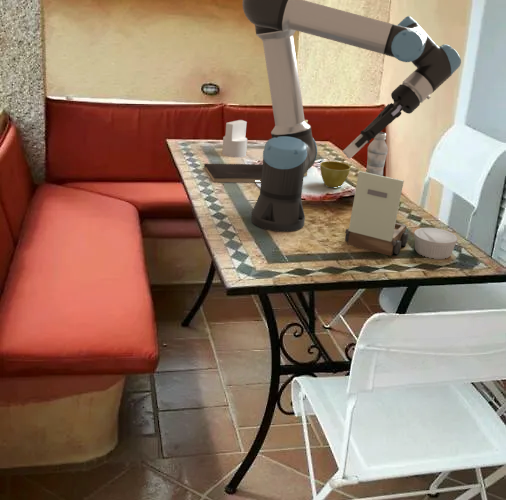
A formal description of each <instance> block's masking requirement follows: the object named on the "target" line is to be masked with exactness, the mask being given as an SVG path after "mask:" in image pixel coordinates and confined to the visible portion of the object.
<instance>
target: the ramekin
mask: <svg viewBox="0 0 506 500" xmlns="http://www.w3.org/2000/svg"><path fill="white" fill-rule="evenodd" d="M413 237H414V249H415V250H414V251H416V253H417V254H419V255H420V256H421V255H422V257H424V256H425V257H424V258H427V257H429V258H428V259H431V258H434V259H433V260H445V258H446V259H448V258H449V257H451V255H452V254H453V251H454V249H455V246H456V244H457V243H458V237H457V236H456V235H455V234H454V233H453V232H451V231H448V230H445V229H441V228H436V227H421V228H417V229H415V230H414V232H413Z"/></svg>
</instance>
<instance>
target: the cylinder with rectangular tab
mask: <svg viewBox="0 0 506 500" xmlns="http://www.w3.org/2000/svg"><path fill="white" fill-rule="evenodd" d="M247 123H248V122H247V121H246V120H243V119H238V120H233V121H229V122H226V124H225V135H224V136H223V137H222V150H221V154H222V155H223V156H226V157H230V158H243V157H246V156H247V149H248V138H247V137H246V133H247Z"/></svg>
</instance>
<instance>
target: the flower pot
mask: <svg viewBox="0 0 506 500" xmlns="http://www.w3.org/2000/svg"><path fill="white" fill-rule="evenodd" d="M319 164H320V165H319V166H320V167H319V168H320V174H321V178H322V181H323V183H324V185H326V186H325V187H327V186H328V187H327V188H329V187H338V186H341V185H342V186H343V184H344V183H345V181H346V180H347V178H348V175H349V173H350V171H351V169H352V167H351V166H350V165H349V164H347V163H344V162H339V161H335V160H334V161H332V160H331V161H330V160H329V161H327V160H326V161H322V162H320V163H319ZM342 186H341V187H342Z"/></svg>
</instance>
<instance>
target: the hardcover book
mask: <svg viewBox="0 0 506 500" xmlns="http://www.w3.org/2000/svg"><path fill="white" fill-rule="evenodd" d="M262 165H263V163H259V164H258V163H252V164H251V163H204V165H203V169H205V170H206V172H207V173H208V175H209V176H210V178H211V179H212V181H213V182H214V183H255V182H254V181H255V180H260V181H261V176H262Z"/></svg>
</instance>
